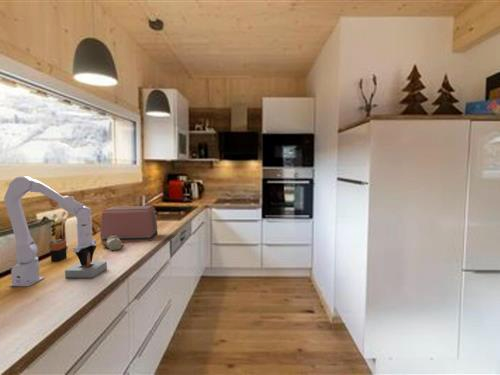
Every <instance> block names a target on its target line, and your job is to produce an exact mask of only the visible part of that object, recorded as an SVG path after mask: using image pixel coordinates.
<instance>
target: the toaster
mask: <svg viewBox="0 0 500 375" xmlns="http://www.w3.org/2000/svg"><path fill="white" fill-rule="evenodd" d="M158 214H159V212H158V211H157V210H156V209H155V207H154V205H138V206H137V205H134V206H133V205H132V206H131V205H130V206H127V205H125V206H111V207H108V208H106V209H104V210H103V211H101V220H100V221H101V222H100V234H99V235H100V242H101V243H102V242H103V243H106V241H107V239H108V237H110V236H112V234H114V235H116V236H117V237H118V238H119V239H120V241H122V243H139V242H141V241H148V242H153V241H155V239H156V238H157V237H158V236H157V235H158V222H157V221H158V219H157V218H158V216H157V215H158ZM152 240H153V241H152ZM103 243H102V244H103ZM141 243H142V242H141Z"/></svg>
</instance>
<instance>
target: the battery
mask: <svg viewBox="0 0 500 375" xmlns="http://www.w3.org/2000/svg"><path fill="white" fill-rule="evenodd" d="M49 248H50V251H49V252H50V260H51V262H60V261H62V260H65V259H66V258H67V241H66V240H63V239H62V238H60V239H57V240H55V241H53V242H52V243H50V244H49Z"/></svg>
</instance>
